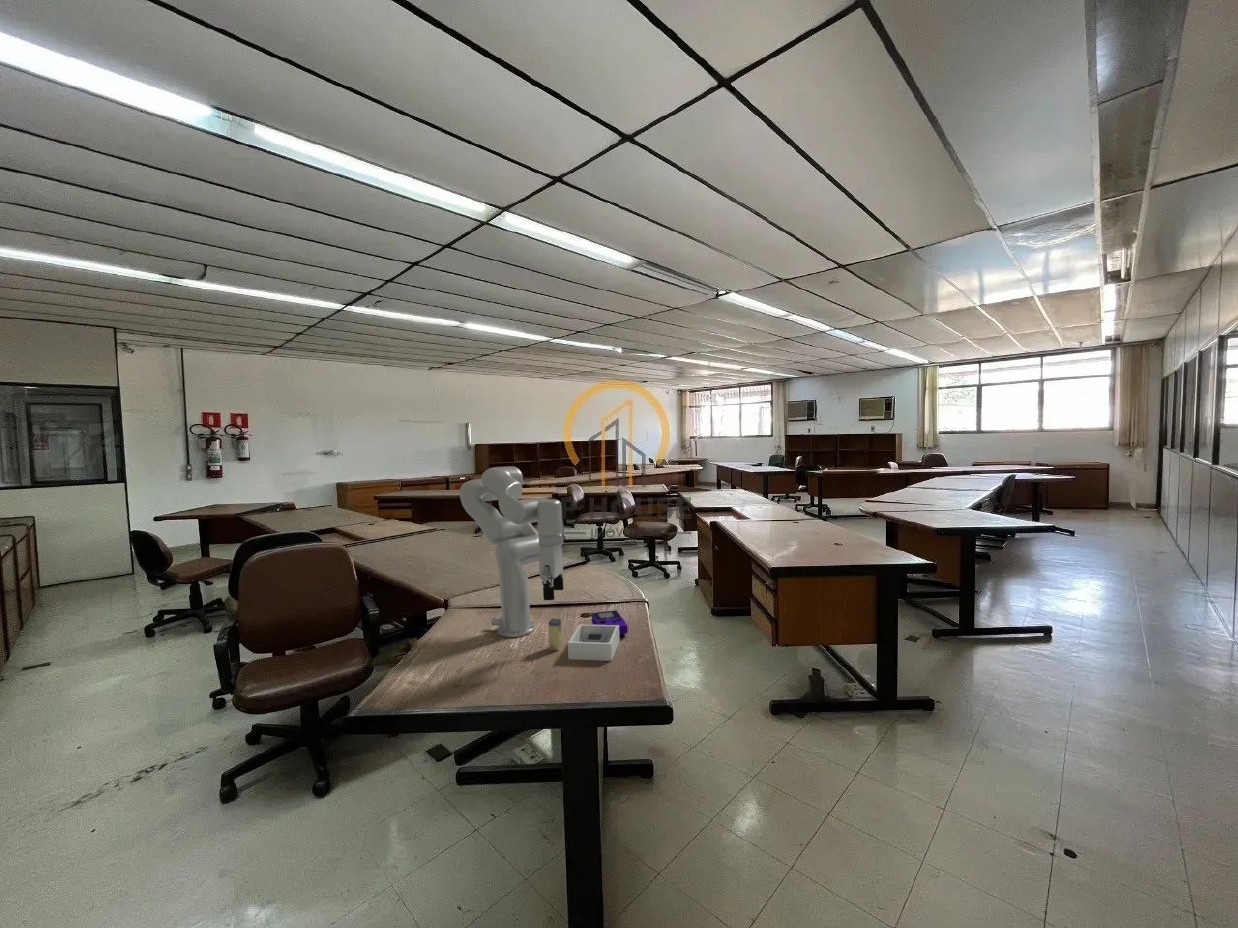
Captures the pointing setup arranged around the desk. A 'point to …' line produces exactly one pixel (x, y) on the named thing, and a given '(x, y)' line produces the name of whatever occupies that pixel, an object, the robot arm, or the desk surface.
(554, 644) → the peg
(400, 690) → the desk surface
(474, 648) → the desk surface
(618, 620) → the handheld gaming console
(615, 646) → the box
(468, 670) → the desk surface
